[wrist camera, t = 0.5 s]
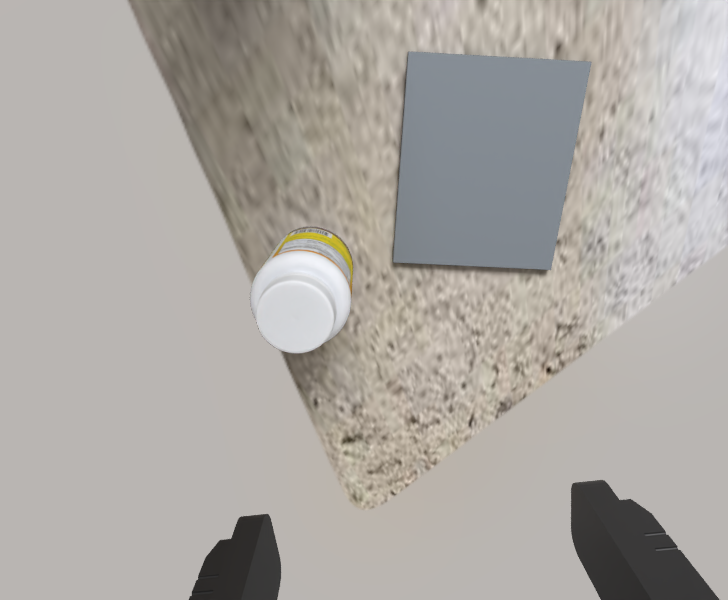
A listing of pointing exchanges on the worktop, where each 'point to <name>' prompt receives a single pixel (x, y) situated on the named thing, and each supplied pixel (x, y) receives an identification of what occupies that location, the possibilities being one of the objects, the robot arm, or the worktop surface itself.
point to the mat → (485, 158)
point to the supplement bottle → (303, 290)
